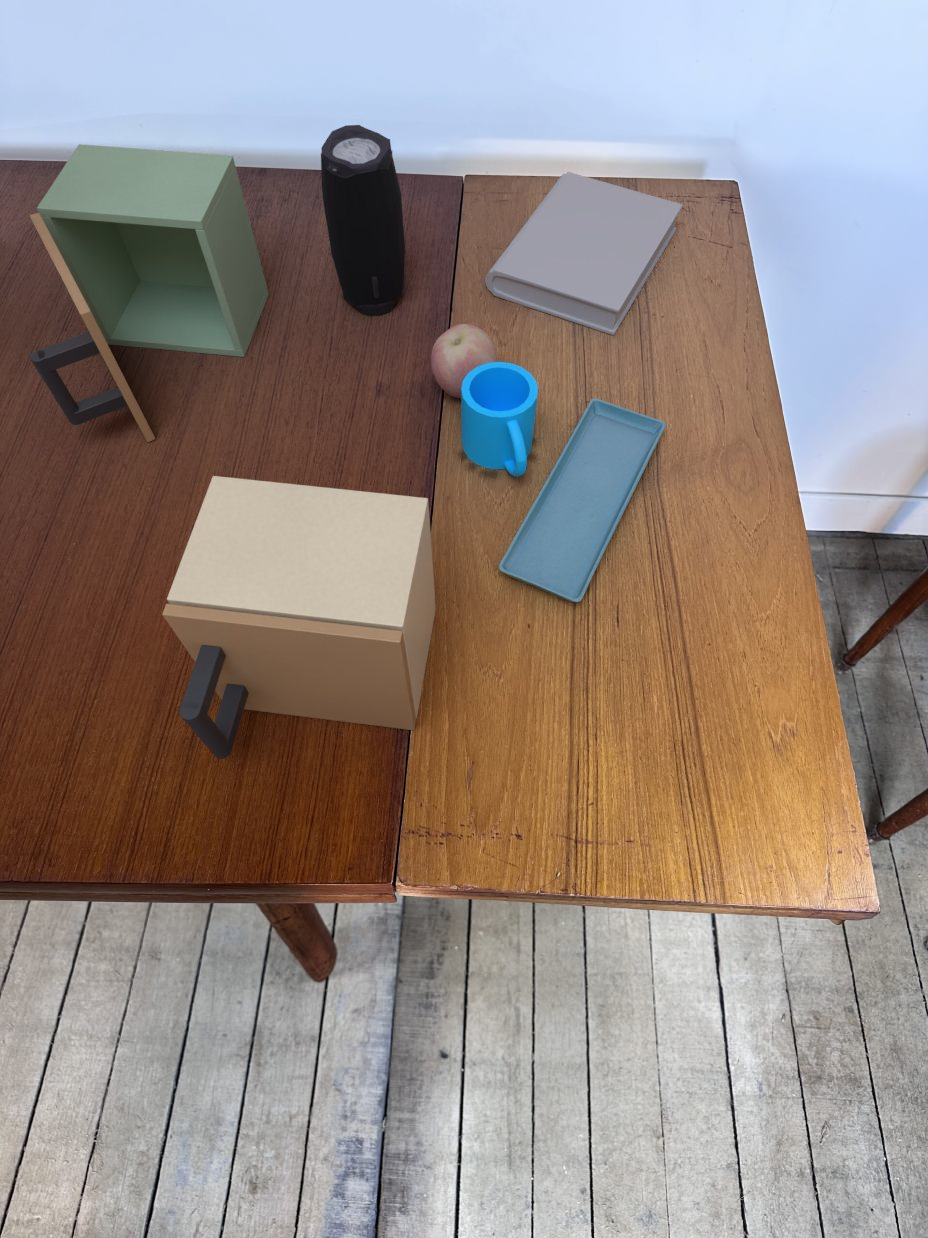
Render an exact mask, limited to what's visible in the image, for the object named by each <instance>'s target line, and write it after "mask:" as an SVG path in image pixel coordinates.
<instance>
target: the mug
mask: <svg viewBox="0 0 928 1238" xmlns="http://www.w3.org/2000/svg"><path fill="white" fill-rule="evenodd" d="M538 387H539V386H538V384H537V380H536V379H535V377H534V376H533V375H532V374H531V372H529V371H528V370H527V369H526V368H524V367H522V366H520V365H517V364H514V363H511V362H504V361H498V362H493V363H486V364H483V365H481V366H478V367H476V368H475V369H473V370H472V371H470V372H469V373H468V374H467V376H466V377H465V379H464V380H463V383H462V388H461V398H460V400H461V402H460V404H461V409H460V410H461V411H460V413H461V415H460V416H461V446H462V450H463V452H464V454H465V455H466V457H467V458H468V459H469V460H470V461H471V462H473V463H474V464H475V465H478V466H479V467H483V468H485V469H489V470H491V469H492V470H506V471H507V472H508V473H509V475H511V476H513V477H515V478H519V477H521V476H523V475H525V473H526V470H527V466H528V456H529V455H530V453H531V451H532V448H533V441H534V430H535V421H536V411H537V404H538V395H539V394H538V393H539V388H538Z"/></svg>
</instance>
